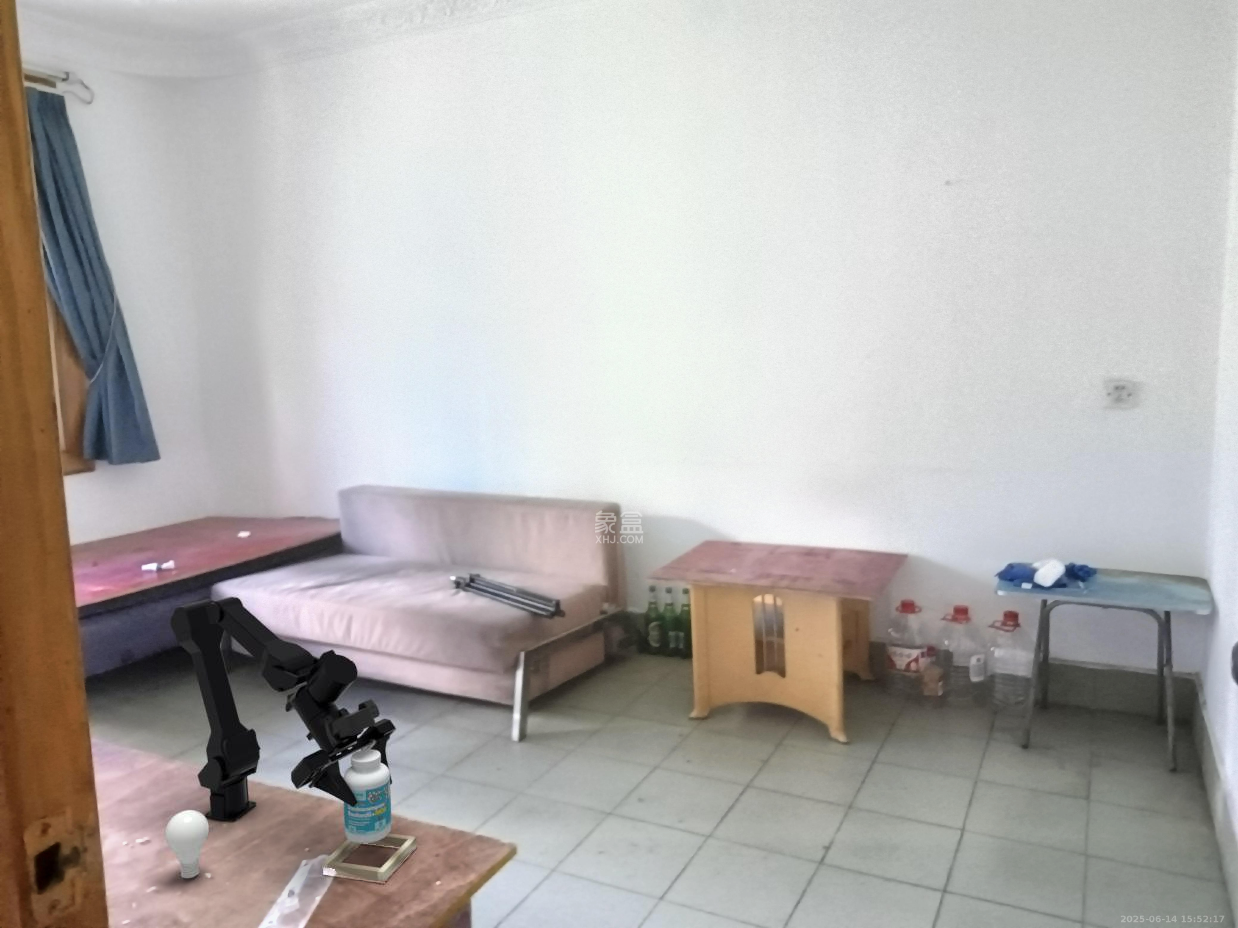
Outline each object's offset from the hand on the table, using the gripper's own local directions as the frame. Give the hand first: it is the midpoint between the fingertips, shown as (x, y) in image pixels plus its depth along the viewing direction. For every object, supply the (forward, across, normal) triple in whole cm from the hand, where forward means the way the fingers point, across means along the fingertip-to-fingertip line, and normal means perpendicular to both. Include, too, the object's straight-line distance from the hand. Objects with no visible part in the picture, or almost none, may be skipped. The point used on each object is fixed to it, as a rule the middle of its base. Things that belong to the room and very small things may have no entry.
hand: (373, 794), depth 150 cm
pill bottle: (+4, 0, +6) cm, 7 cm away
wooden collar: (+8, 0, +9) cm, 12 cm away
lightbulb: (-8, -17, +25) cm, 32 cm away
